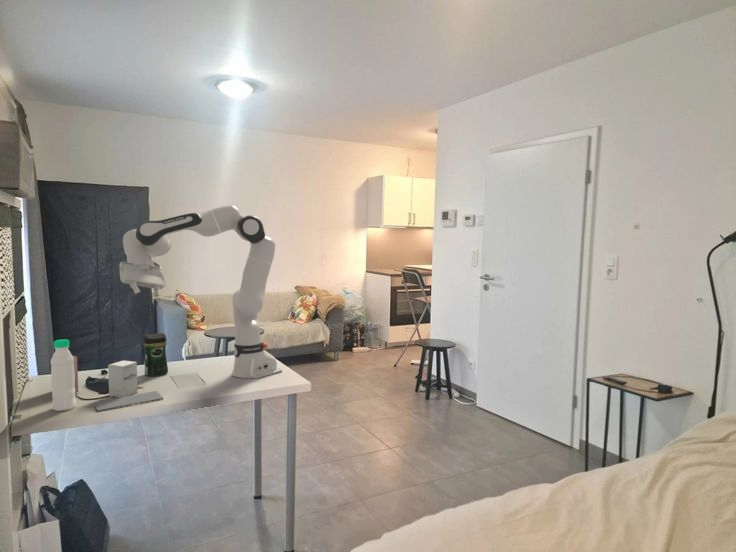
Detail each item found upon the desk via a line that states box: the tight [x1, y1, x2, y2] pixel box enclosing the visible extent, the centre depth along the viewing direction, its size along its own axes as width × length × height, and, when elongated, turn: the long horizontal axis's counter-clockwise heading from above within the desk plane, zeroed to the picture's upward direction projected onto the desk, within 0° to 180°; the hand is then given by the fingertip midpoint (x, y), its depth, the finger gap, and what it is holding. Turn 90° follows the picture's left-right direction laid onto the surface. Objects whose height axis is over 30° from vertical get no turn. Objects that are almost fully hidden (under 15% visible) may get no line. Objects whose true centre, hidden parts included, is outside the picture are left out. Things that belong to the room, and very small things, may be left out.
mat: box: [92, 390, 164, 413], centre depth 177 cm, size 22×10×1 cm, turn 128°
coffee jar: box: [143, 332, 169, 377], centre depth 211 cm, size 10×8×19 cm
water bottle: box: [50, 338, 77, 412], centre depth 168 cm, size 7×7×25 cm
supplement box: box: [107, 360, 138, 398], centre depth 184 cm, size 7×7×13 cm
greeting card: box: [72, 355, 79, 394], centre depth 185 cm, size 11×7×15 cm, turn 42°
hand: (147, 294), depth 191 cm, fingers open, 8 cm apart
